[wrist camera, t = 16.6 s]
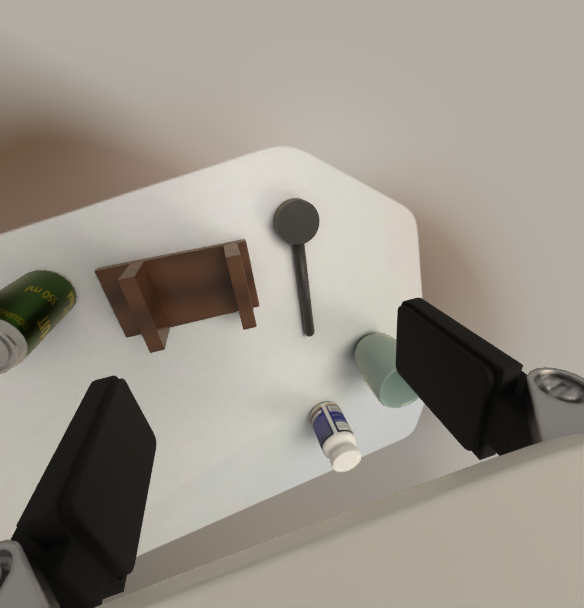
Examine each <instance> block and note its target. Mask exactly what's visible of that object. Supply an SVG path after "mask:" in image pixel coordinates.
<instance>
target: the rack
mask: <svg viewBox="0 0 584 608" xmlns="http://www.w3.org/2000/svg"><path fill="white" fill-rule="evenodd" d="M95 273H96V275H97V277H98V279H99V281H100V283H101V286H102V288H103V290H104V292H105V294H106V296H107V298H108V300H109V302H110V304H111V306H112V308H113V310H114V312H115V315H116V317H117V319H118V321H119V323H120V325H121V327H122V329H123V331H124V333H125V335H126V337H131V336H135V335H139V334H142V336H143V338H144V340H145V342H146V345H147V347H148V349H149V351H150V353H152V352H156V351H160V350H164V349H165V346H166V341H167V337H168V333H169V329H170V327H173V326H178V325H182V324H186V323H190V322H194V321H199V320H203V319H207V318H211V317H216V316H220V315H224V314H228V313H233V312H237V311H239V314H240V318H241V322H242V326H243V329H244V330H245V329H249V328H253V327H256V321H255V317H254V312H253V308H254V307H258V306H259V302H258V297H257V292H256V287H255V283H254V278H253V273H252V268H251V264H250V259H249V254H248V249H247V245H246V241H245V239H243V240H238V241H233V242H228V243H223V244H218V245H213V246H208V247H203V248H198V249H193V250H187V251H182V252H177V253H172V254H167V255H162V256H157V257H152V258H147V259H142V260H137V261H132V262H127V263H121V264H116V265H111V266H106V267H101V268H97V269H96V270H95Z"/></svg>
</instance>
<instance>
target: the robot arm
mask: <svg viewBox="0 0 584 608" xmlns="http://www.w3.org/2000/svg"><path fill="white" fill-rule="evenodd" d="M395 365H396V369H397V372H398V373H399V375H400V376H401V377H402V378H403V379H404V381H405V382H406V383H407V384H408V385H409V386H410V387H411V388H412V390H413V391H414V392H415V393H416V394H417V395H418V396H419V398H420V399H421V400H422V401H423V402H424V403H425V404H426V405H427V407H428V408H430V410H431V411H432V412H433V413H434V415H435V416H436V417H437V418H438V419H439V420H440V421H441V422H442V424H443V425H444V426H445V427H446V428H447V429H448V430H449V431H450V433H451V434H452V435H453V436H454V437H455V438H456V439H457V441H458V442H459V443H460V444H461V445H462V446H463V447H464V448H465V449H466V450H468V451H472V452H473V453H474V454H475V455H476V456H477V458H478V459H479V460H482V459H484V458H487V457H490V456H492V455H495V454H496V453H497V454H498V455H499V456H498V457H495V458H493V459H490V460H487V461H484V462H481V463H478V464H475V465H473V466H470V467H467V468H464V469H462V470H459V471H456V472H454V473H451V474H448V475H445V476H442V477H440V478H437V479H434V480H431V481H429V482H426V483H423V484H421V485H418V486H415V487H412V488H409V489H407V490H404V491H401V492H399V493H396V494H393V495H390V496H388V497H385V498H382V499H380V500H377V501H374V502H371V503H369V504H366V505H363V506H360V507H358V508H355V509H352V510H349V511H347V512H344V513H341V514H339V515H336V516H333V517H331V518H328V519H325V520H322V521H320V522H317V523H314V524H312V525H309V526H306V527H304V528H301V529H298V530H296V531H293V532H290V533H287V534H285V535H282V536H279V537H277V538H274V539H271V540H269V541H266V542H264V543H261V544H258V545H255V546H253V547H250V548H247V549H245V550H242V551H239V552H237V553H234V554H232V555H229V556H226V557H224V558H221V559H218V560H216V561H213V562H210V563H208V564H205V565H202V566H200V567H197V568H194V569H192V570H189V571H187V572H184V573H181V574H178V575H176V576H173V577H171V578H168V579H165V580H163V581H160V582H158V583H155V584H153V585H150V586H148V587H145V588H143V589H140V590H138V591H135V592H133V593H130V594H128V595H125V596H122V597H120V598H117V599H115V600H113V601H110V602H107V603H105V604H102V600H103V599H105V598H107V597H110V596H113V595H116V594H118V593H121V592H124V587H125V582H126V577H127V574H130V573H131V572H132V570H133V568H134V565H135V560H136V555H137V549H138V544H139V538H140V533H141V527H142V522H143V516H144V511H145V505H146V500H147V494H148V489H149V484H150V478H151V473H152V467H153V462H154V456H155V451H156V438H155V435H154V433H153V431H152V429H151V427H150V426H149V424H148V422H147V420H146V418H145V416H144V414H143V413H142V411H141V409H140V407H139V405H138V403H137V401H136V400H135V398H134V396H133V394H132V392H131V390H130V388H129V387H128V385H127V383H126V381H125V380H124V379H122V378H121V379H118V377H116V376H110V377H106V378H102V379H98V380H95V381H93V382H92V383H91V384H90V386H89V388H88V390H87V392H86V394H85V396H84V398H83V400H82V402H81V403H80V405H79V407H78V409H77V411H76V413H75V415H74V417H73V419H72V421H71V423H70V424H69V426H68V428H67V430H66V432H65V434H64V436H63V438H62V440H61V442H60V443H59V445H58V447H57V449H56V451H55V453H54V455H53V457H52V459H51V461H50V463H49V464H48V466H47V468H46V470H45V472H44V474H43V476H42V478H41V480H40V482H39V483H38V485H37V487H36V489H35V491H34V493H33V495H32V497H31V499H30V501H29V503H28V504H27V506H26V508H25V510H24V512H23V514H22V516H21V518H20V520H19V522H18V523H17V525H16V526H17V528H16V530H15V532H14V534H13V536H12V538H11V540H5V541H1V542H0V608H584V378H582V377H580V376H578V375H576V374H574V373H571V372H568V371H565V370H561V369H556V368H546V367H545V368H536V369H534V370H532V371H530V372H529V374H528V375H527V374H525V373H524V372H522V371H521V370H522V367H523V365H522V364H521V363H519V362H518V361H516V360H515V359H513V358H511V357H510V356H508V355H507V354H505V353H504V352H502V351H501V350H499V349H498V348H496V347H495V346H493V345H492V344H490V343H489V342H487V341H486V340H484V339H482V338H481V337H479V336H478V335H477V334H475V333H473V332H472V331H470V330H469V329H467V328H466V327H464V326H463V325H461V324H460V323H458V322H456V321H455V320H454V319H452V318H451V317H449V316H448V315H446V314H445V313H443V312H441V311H440V310H438V309H437V308H435V307H434V306H432V305H431V304H429V303H428V302H426V301H425V300H423V299H422V298H414V299H411V300H407V301H404V302H402V304H401V306H400V307H399V308H398V317H397V339H396V362H395ZM101 604H102V605H101Z"/></svg>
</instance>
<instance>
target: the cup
mask: <svg viewBox="0 0 584 608" xmlns="http://www.w3.org/2000/svg"><path fill="white" fill-rule="evenodd" d="M355 361H356V365H357V368H358V370H359V372H360V374H361V375H362V377H363V379H364V380H365V382H366V384H367V385H368V386H369V388H370V389H371V391H372V392H373V394H374V395H375V396H376V398H377V399H378V400H379V402H380V403H381V404H382V405H384V406H386V407H389V408H398V407H403V406H406V405H408V404H411V403H412V402H414V401H415V400H417V399H418V398H419V396H418V395H417V394H416V393H415V392H414V391H413V390H412V388H411V387H410V386H409V385H408V384H407V383H406V382H405V381H404V379H403V378H402V377H401V376H400V375H399V373H398V372H397V369H396V365H395V362H396V339H394V338H393V337H391V336H389V335H386V334H381V333H374V334H370V335H368V336H366V337H364V338H363V339H361V340H360V341H359V343H358V345H357V347H356V349H355Z"/></svg>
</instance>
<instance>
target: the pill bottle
mask: <svg viewBox="0 0 584 608" xmlns="http://www.w3.org/2000/svg"><path fill="white" fill-rule="evenodd" d="M310 421H311V424H312V426H313V429H314V431H315V434H316V436H317V439H318V441H319V444H320V446H321V449H322V451H323V453H324V455H325V456H326V457H327V458H329V459H330V463H331V465H332V467H333V469H334V470H335V471H337V472H345V471H348V470H350V469H352V468H354V467H355V466H356V465H357V464H358V463H359V461H360V458H361V455H360V452H359V450H358V448H357V447H356V438H355V436H354V434H353V432H352V430H351V428H350V427H349V425H348V423H347V421H346V419H345V417H344V415H343V414H342V412H341V410H340V408H339V406H338V405H337V404H335V403H333V402H324V403H321V404H319V405H317V406H316V407H315V408H314V409H313V410H312V412H311V414H310Z"/></svg>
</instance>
